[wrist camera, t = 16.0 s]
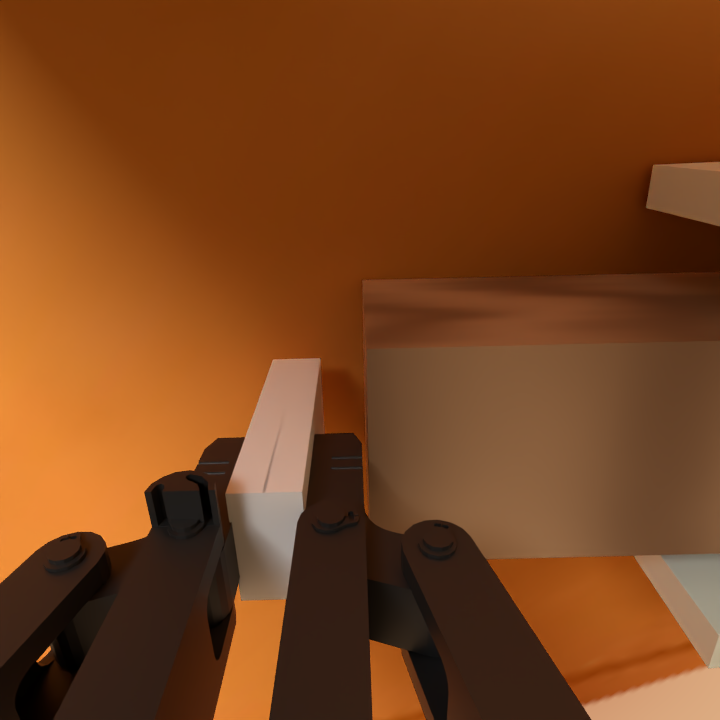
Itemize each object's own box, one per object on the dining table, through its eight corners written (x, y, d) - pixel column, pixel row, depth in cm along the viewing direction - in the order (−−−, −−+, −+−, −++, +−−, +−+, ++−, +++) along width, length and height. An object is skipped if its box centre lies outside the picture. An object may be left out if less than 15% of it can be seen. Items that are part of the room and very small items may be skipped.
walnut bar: (365, 438, 19) (370, 561, 14) (362, 278, 17) (366, 348, 11) (746, 429, 19) (905, 549, 14) (797, 268, 17) (1016, 334, 11)
